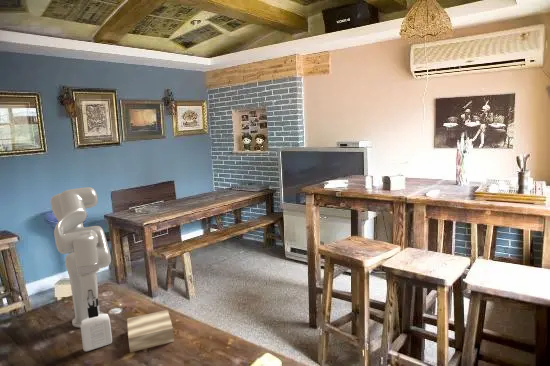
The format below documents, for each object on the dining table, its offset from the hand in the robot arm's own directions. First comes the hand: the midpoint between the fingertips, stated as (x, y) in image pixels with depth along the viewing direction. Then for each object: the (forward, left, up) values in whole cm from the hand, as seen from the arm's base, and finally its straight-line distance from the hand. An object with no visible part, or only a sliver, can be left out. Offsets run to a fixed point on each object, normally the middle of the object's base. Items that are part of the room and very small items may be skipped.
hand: (93, 311), depth 144 cm
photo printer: (-1, 0, -15) cm, 15 cm away
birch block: (+2, +19, -15) cm, 24 cm away
